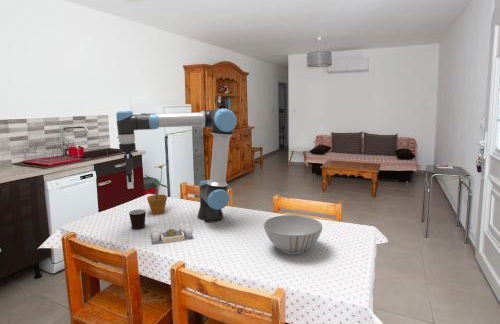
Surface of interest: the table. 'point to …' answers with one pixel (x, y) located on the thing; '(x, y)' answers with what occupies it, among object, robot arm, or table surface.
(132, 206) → the table surface
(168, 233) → the nut
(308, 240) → the decorative bowl
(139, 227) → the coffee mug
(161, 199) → the potted plant
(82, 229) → the table surface
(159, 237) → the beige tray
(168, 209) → the table surface
